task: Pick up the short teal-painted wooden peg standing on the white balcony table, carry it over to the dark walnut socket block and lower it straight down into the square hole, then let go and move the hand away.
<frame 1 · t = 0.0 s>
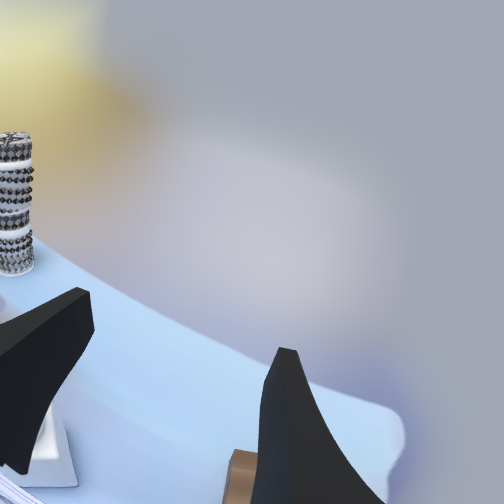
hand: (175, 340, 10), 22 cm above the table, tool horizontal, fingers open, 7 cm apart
decorative candle: (15, 267, 43), on the table
medicine bottle: (40, 458, 17), on the table
socket block: (269, 503, 20), on the table
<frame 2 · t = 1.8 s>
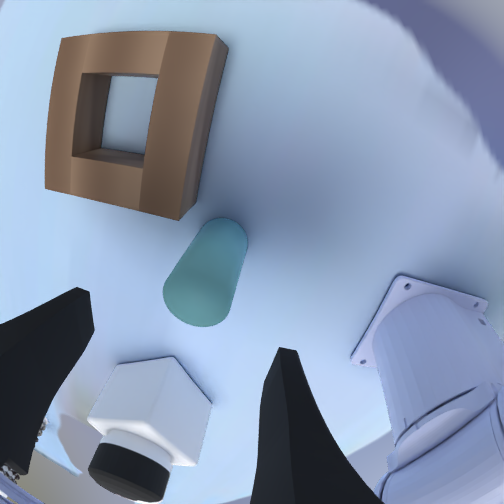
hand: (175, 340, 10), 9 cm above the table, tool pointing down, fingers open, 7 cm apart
decorative candle: (31, 408, 38), on the table
peg: (222, 241, 18), on the table
medicine bottle: (164, 383, 25), on the table
socket block: (136, 114, 15), on the table
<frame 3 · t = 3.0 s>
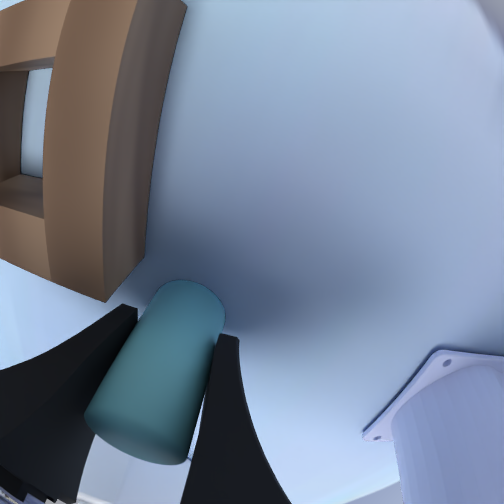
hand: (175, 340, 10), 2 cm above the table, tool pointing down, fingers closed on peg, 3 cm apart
peg: (188, 312, 12), on the table, touching gripper
medicine bottle: (140, 442, 19), on the table
socket block: (56, 124, 9), on the table
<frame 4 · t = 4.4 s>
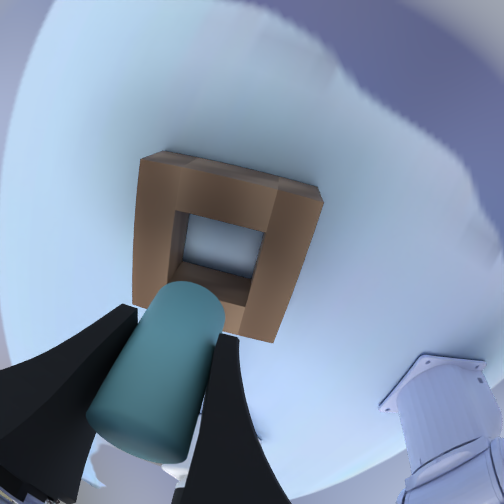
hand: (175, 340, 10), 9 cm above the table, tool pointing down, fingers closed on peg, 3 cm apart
peg: (188, 312, 12), point 7 cm above the table, touching gripper
medicine bottle: (220, 427, 28), on the table
socket block: (222, 238, 18), on the table
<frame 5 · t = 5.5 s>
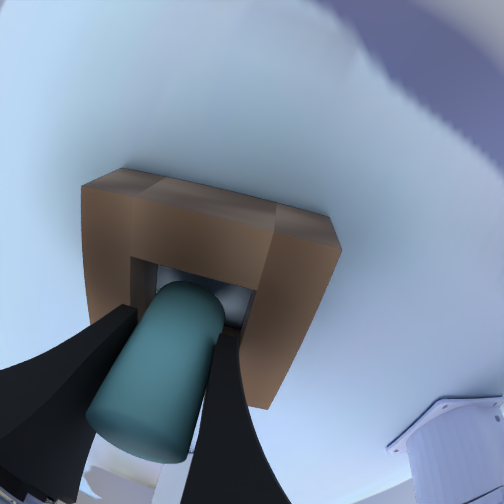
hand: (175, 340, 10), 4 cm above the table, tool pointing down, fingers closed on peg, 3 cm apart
peg: (188, 312, 12), point 2 cm above the table, touching gripper
medicine bottle: (213, 464, 24), on the table
socket block: (203, 281, 14), on the table
when the fingers open (3 cm above the table, at t = 6.0 s): peg drops 2 cm, resting in socket block.
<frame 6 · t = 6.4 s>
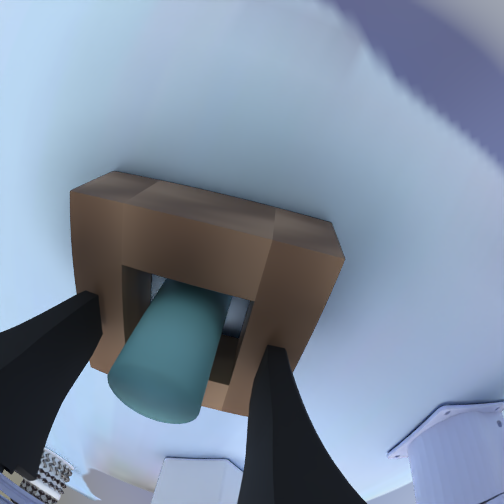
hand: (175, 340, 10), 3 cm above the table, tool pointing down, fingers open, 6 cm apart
decorative candle: (56, 456, 36), on the table
peg: (198, 290, 13), resting in socket block
medicine bottle: (212, 469, 23), on the table
socket block: (199, 289, 13), on the table
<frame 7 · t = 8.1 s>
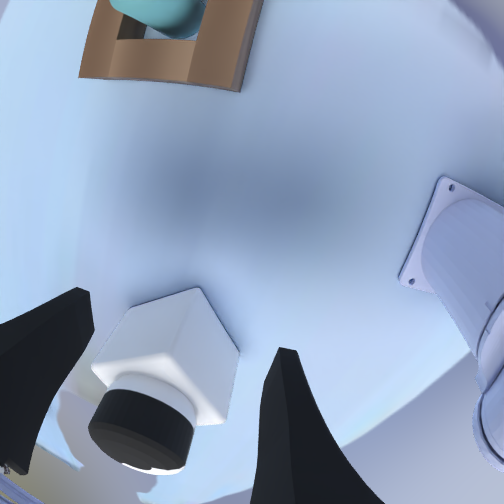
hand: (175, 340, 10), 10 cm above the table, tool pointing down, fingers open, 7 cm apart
peg: (182, 17, 13), resting in socket block
medicine bottle: (184, 329, 23), on the table
socket block: (182, 16, 13), on the table
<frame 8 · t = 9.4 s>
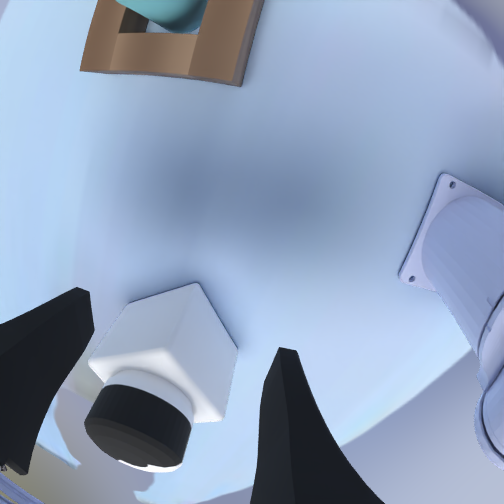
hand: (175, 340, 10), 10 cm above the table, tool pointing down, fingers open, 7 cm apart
peg: (184, 12, 13), resting in socket block
medicine bottle: (182, 325, 23), on the table
socket block: (184, 11, 13), on the table
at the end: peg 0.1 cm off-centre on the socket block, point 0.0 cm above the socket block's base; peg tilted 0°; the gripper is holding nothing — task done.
